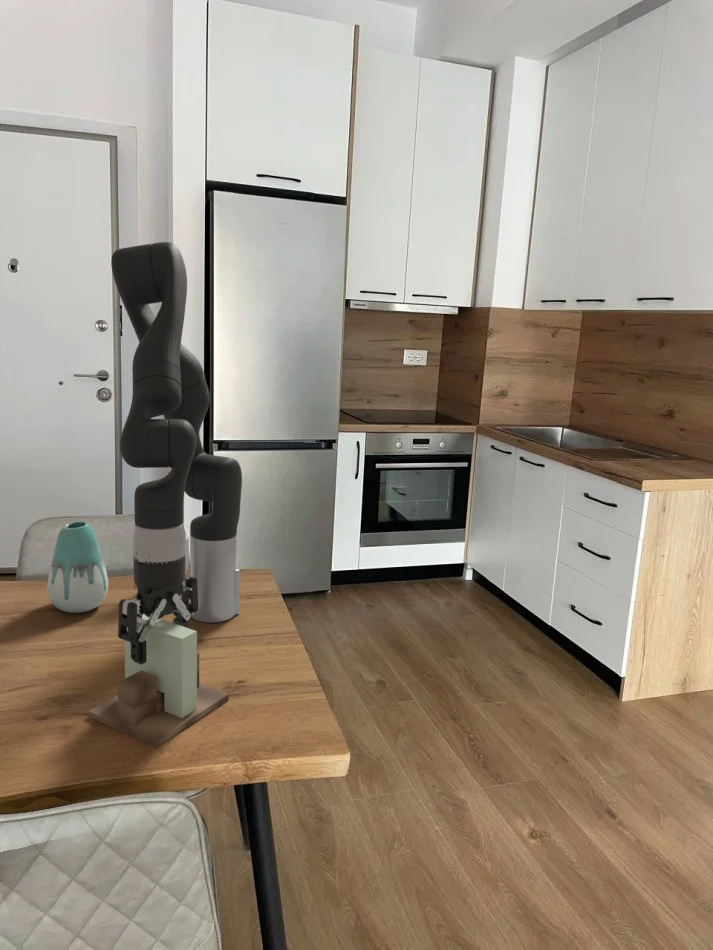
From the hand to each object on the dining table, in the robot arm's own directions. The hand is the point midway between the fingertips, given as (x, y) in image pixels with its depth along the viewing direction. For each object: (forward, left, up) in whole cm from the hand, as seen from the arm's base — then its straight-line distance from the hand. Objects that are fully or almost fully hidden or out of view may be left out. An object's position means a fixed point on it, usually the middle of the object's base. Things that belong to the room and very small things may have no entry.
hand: (160, 651), depth 110 cm
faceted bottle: (-24, -45, -10) cm, 52 cm away
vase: (-3, -45, -10) cm, 46 cm away
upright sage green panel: (0, 0, -9) cm, 9 cm away
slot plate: (0, 0, -10) cm, 10 cm away
